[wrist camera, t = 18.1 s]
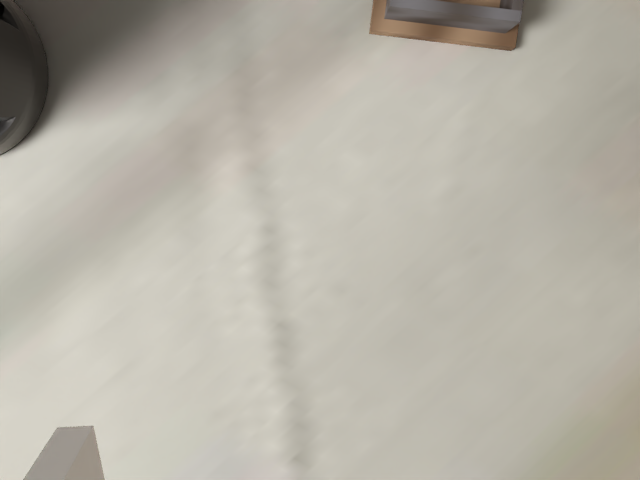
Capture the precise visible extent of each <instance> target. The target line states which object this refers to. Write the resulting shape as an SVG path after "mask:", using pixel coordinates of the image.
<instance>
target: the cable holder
mask: <svg viewBox="0 0 640 480" xmlns="http://www.w3.org/2000/svg"><path fill="white" fill-rule="evenodd" d="M523 2H524V0H373V8H372V16H371V24H370V32H369V34H376V35H385V36H393V37H401V38H409V39H418V40H426V41H434V42H442V43H451V44H459V45H467V46H475V47H484V48H492V49H500V50H509V51H511V50H512V49H514V48H515V46H516V40H517V34H518V27H519V23H520V21H521V14H522V8H523Z"/></svg>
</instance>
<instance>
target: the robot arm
mask: <svg viewBox="0 0 640 480" xmlns="http://www.w3.org/2000/svg"><path fill="white" fill-rule="evenodd" d="M47 86H48V69H47V61H46V56H45V52H44V49H43V46H42V43H41V40H40V38H39V36H38V33H37V31H36V30H35V28H34V26H33V24H32V23H31V21H30V20H29V18H28V17H27V16H26V14H25V13H24V12H23V11H22V10H21V8H20V7H19V6H18V5H17V4H16V3H15V2H13V1H12V0H0V154H2V153H4V152H6V151H8V150H10V149H11V148H13V147H14V146H15V145H17V144H18V143H19V142H20V141H21V140H22V139H23V138H24V137H25V136H26V135H27V134H28V133H29V132H30V130H31V129H32V128H33V126H34V125H35V123H36V121H37V120H38V118H39V116H40V113H41V111H42V109H43V105H44V102H45V98H46V93H47ZM23 480H105V479H104V474H103V470H102V465H101V460H100V455H99V451H98V446H97V441H96V436H95V432H94V427H93V426H81V427H60V428H57V429H56V430H55V432H54V433H53V435H52V436H51V438H50V439H49V441H48V442H47V444H46V445H45V447H44V449H43V450H42V452H41V453H40V455H39V456H38V458H37V459H36V461H35V462H34V464H33V466H32V467H31V469H30V470H29V472H28V473H27V475H26V476H25V478H24V479H23Z"/></svg>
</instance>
